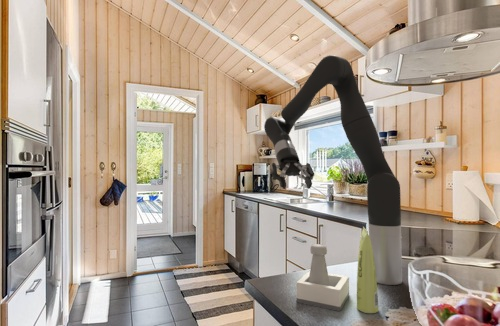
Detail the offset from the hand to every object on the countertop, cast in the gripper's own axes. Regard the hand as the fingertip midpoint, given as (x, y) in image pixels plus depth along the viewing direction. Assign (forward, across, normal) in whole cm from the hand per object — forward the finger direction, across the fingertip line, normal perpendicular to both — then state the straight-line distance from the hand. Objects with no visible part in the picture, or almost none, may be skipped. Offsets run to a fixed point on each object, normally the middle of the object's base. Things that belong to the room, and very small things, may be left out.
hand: (297, 187), depth 99 cm
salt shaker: (+32, -1, +7) cm, 33 cm away
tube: (+39, +8, +2) cm, 40 cm away
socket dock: (+33, 0, +7) cm, 34 cm away
